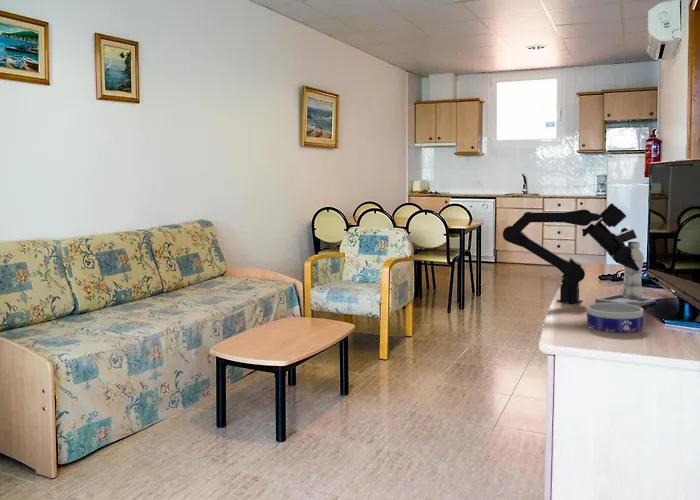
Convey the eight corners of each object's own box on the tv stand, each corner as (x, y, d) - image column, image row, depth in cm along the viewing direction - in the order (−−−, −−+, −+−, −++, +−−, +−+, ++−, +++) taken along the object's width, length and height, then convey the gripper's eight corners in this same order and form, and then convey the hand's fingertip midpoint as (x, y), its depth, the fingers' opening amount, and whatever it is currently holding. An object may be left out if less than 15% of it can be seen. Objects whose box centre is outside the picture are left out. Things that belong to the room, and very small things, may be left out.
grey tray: (632, 309, 204) (632, 304, 204) (595, 302, 215) (595, 298, 215) (655, 303, 212) (655, 299, 211) (618, 298, 223) (618, 294, 223)
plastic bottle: (628, 296, 217) (630, 240, 215) (646, 299, 211) (648, 242, 209) (617, 298, 214) (619, 242, 212) (634, 301, 208) (636, 243, 206)
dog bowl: (609, 335, 171) (610, 314, 170) (575, 324, 185) (576, 304, 185) (655, 330, 175) (655, 310, 174) (618, 320, 189) (618, 300, 189)
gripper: (625, 222, 202) (660, 256, 200) (618, 219, 219) (651, 250, 217) (599, 245, 205) (633, 279, 203) (594, 240, 223) (626, 271, 220)
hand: (637, 269), depth 211 cm, fingers closed on plastic bottle, 6 cm apart
